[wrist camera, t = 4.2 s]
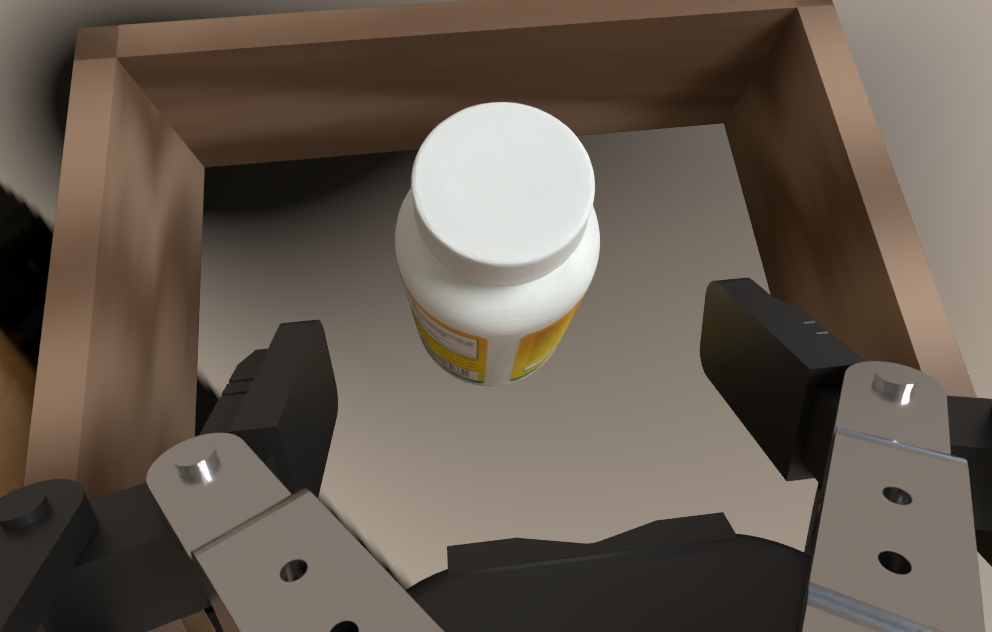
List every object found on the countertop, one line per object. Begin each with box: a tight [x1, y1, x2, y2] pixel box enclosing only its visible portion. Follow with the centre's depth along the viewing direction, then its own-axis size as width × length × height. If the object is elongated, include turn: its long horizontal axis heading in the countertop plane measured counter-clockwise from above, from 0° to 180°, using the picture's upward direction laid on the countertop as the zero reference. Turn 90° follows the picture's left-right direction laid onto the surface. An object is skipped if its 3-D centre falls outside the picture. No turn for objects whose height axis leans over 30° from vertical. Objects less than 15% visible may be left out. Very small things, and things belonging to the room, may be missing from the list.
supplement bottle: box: [395, 102, 600, 386], centre depth 17 cm, size 5×5×10 cm
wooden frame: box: [23, 0, 977, 501], centre depth 19 cm, size 16×23×6 cm, turn 97°
